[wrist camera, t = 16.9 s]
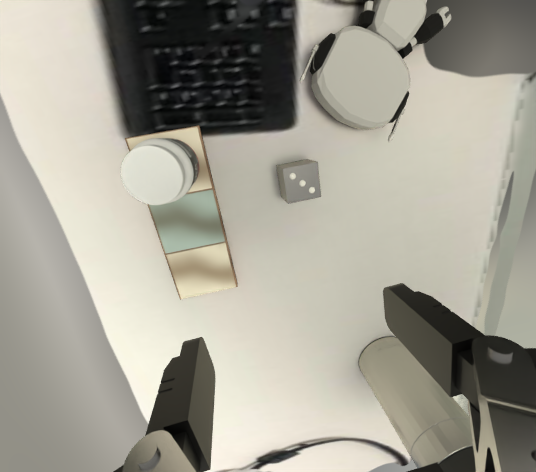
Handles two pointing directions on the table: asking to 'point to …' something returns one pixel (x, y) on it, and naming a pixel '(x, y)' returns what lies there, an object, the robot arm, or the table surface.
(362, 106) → the robot toy
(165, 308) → the table surface
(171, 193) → the pill bottle
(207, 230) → the board
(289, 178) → the die
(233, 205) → the table surface
